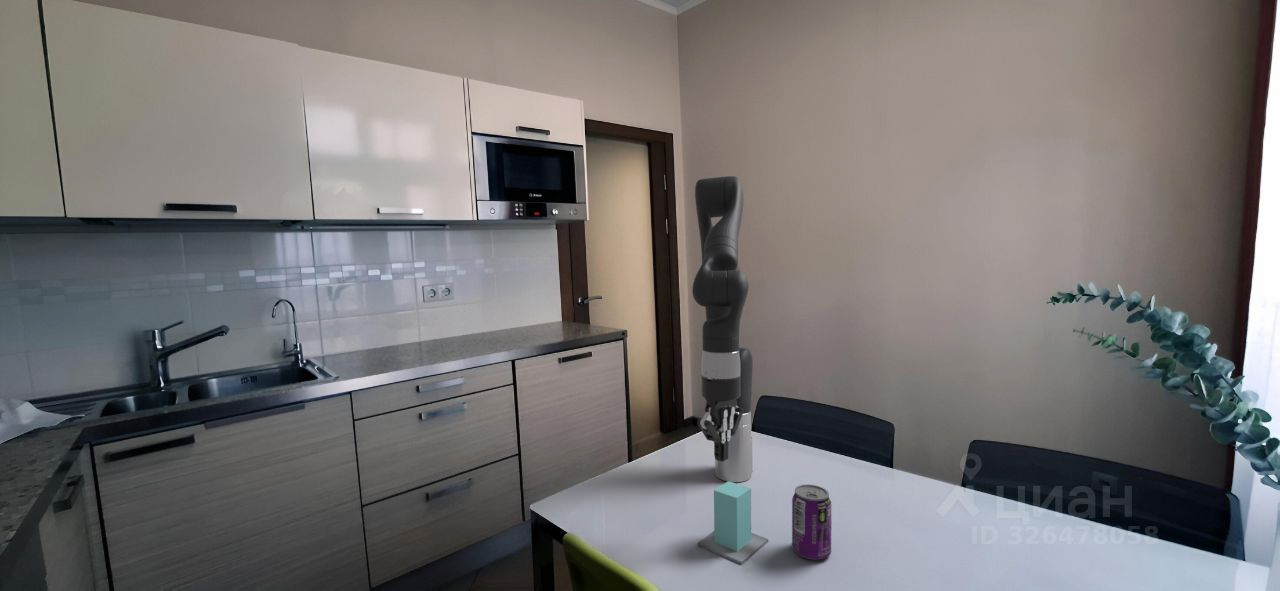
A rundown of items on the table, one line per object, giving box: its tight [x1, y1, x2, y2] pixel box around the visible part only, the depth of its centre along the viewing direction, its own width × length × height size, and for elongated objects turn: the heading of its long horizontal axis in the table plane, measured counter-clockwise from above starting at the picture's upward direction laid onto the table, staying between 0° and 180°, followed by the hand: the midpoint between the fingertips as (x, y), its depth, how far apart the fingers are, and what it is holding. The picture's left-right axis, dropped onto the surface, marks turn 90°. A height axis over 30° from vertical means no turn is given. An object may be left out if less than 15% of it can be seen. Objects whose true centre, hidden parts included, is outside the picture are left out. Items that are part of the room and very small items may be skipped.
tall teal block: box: [713, 481, 752, 552], centre depth 103 cm, size 5×5×11 cm
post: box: [697, 531, 769, 565], centre depth 103 cm, size 10×10×10 cm
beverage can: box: [791, 484, 833, 561], centre depth 100 cm, size 7×7×12 cm
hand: (721, 459), depth 103 cm, fingers closed
